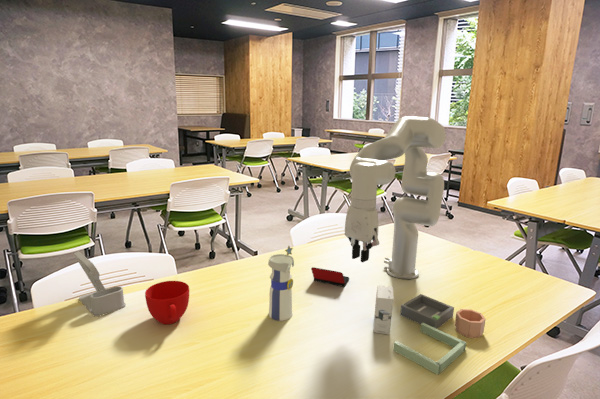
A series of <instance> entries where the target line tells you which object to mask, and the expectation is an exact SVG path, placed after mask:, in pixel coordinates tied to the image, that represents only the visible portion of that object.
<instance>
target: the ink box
mask: <svg viewBox="0 0 600 399" xmlns="http://www.w3.org/2000/svg"><path fill="white" fill-rule="evenodd" d="M375 296H376V297H375V305H374V317H373V319H374V320H373V321H374V322H373V332H374V333H376V334H382V335H390V332H391V325H392V318H393V316H392V315H393V308H394V300H395V299H394V287H393V286H386V285H377V286H376V295H375Z"/></svg>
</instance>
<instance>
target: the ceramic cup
mask: <svg viewBox="0 0 600 399" xmlns="http://www.w3.org/2000/svg"><path fill="white" fill-rule="evenodd" d="M144 297H145V302H146V303H145V304H146V307H147V310H148V312H149V314H150V315H151V316H152V318H153V319H154V320H155V321H157V322H158V323H160V324H162V325H170V324H175V323H177V322H178V321H180V319H182V317H183V316H184V314H185V313H186V311H187V309H188V306H189V302H190V287H189V284H188V283H186V282H184V281H181V280H165V281H160V282H157V283H155V284H152V285H151V286H149V287H148V288H146V289H145V292H144Z"/></svg>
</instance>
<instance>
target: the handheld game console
mask: <svg viewBox="0 0 600 399" xmlns="http://www.w3.org/2000/svg"><path fill="white" fill-rule="evenodd" d="M311 272H312V276H313V281H314V282H316V281H317V282H318V283H323V284H330V285H333V286H336V287H337V286H339V287H344V288H345V287H346V285H347V284H348V282H349V280H350V277H349V276H345V275H344V273H343V272H342V271H336V270H331V269H324V268H319V267H313V266H312V267H311Z"/></svg>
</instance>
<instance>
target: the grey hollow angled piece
mask: <svg viewBox="0 0 600 399" xmlns="http://www.w3.org/2000/svg"><path fill="white" fill-rule="evenodd" d="M73 256H74V257H75V259H76V260H77V262H78V264H79V265H80V267H81V269H82V270H83V271H84V273H85V275H86V277H87V278H88V280H89V281H90V282H91V284H92V286H93V288H94V289H95V291H93V292H90V293H86V294H82V295H80V296H79V297H78V299H79V301H80V302H81V303H82V305H85V306H86V307H85V306H84V307H85V308H86V309H87V310H88V311H89V313H90V314H91V313H92V314H93V315H94V316H93V315H92V314H91V315H92V316H93V317H95V316H98V317H101V316H104V315H107V314H110V313H113V312H115V311H119V310H122V309H124V308H125V307H126V302H125V298H124V296H125V295H124V289H123V287H122V286H113V287H110V288H107V287H105V286H104V285H103V283H102V280H101V279H100V272H99V271H98V269H97V267H96V266H95V265H94V263H93V262H92V261H91V260H90V259H89V258H87V257H86V256H85V255H84V254H83V253H82V252H80V251H79V250H78V251H76V252H74V253H73ZM121 308H122V309H121ZM118 309H119V310H118ZM112 311H113V312H112ZM109 312H110V313H109ZM106 313H107V314H106ZM103 314H104V315H103ZM100 315H101V316H100Z"/></svg>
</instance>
